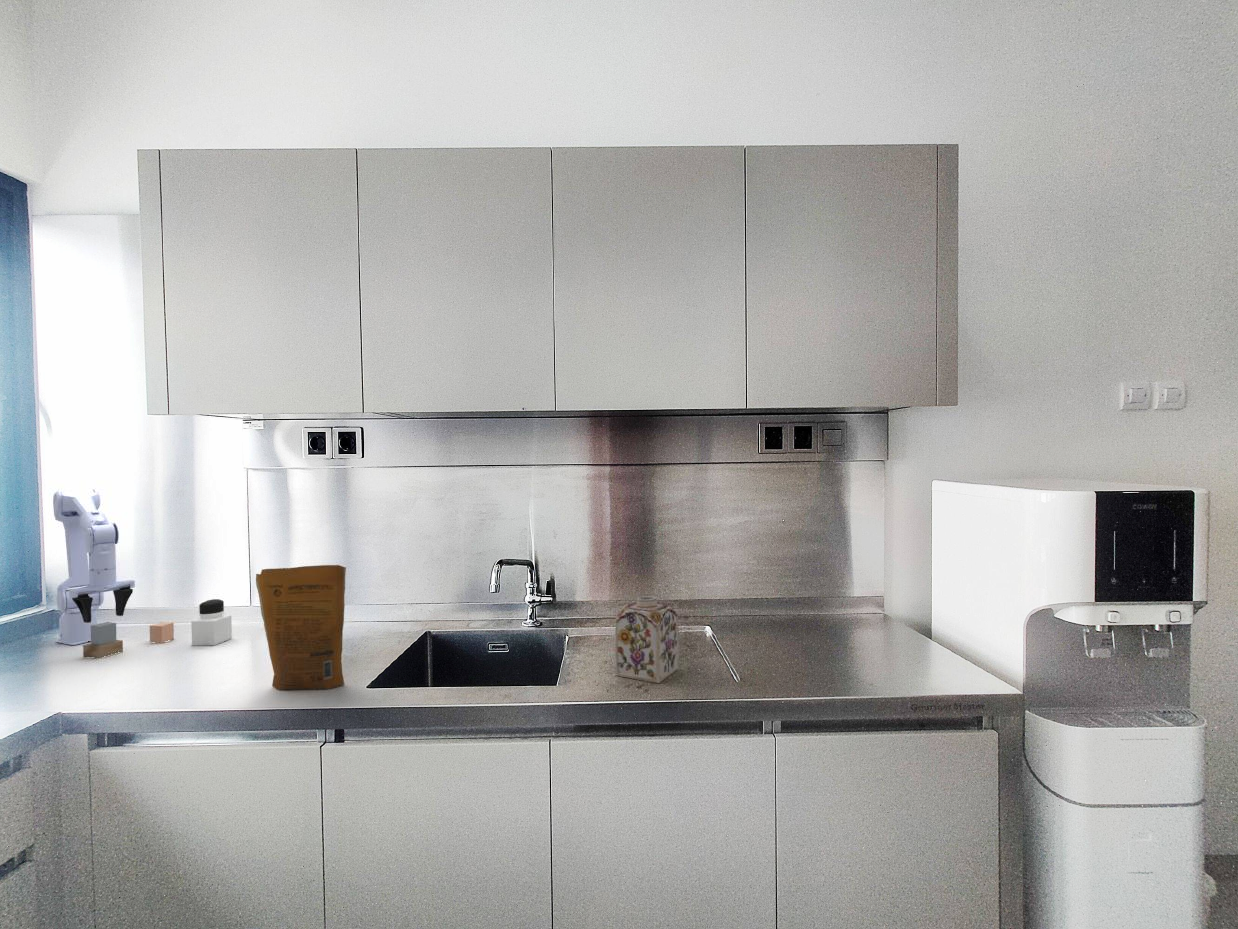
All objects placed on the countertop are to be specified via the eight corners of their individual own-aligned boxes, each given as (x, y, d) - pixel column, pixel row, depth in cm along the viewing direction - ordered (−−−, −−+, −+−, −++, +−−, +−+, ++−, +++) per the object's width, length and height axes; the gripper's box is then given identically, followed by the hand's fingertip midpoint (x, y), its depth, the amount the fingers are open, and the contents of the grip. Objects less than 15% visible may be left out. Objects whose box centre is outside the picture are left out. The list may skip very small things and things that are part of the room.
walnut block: (83, 658, 172) (83, 645, 172) (106, 651, 178) (106, 639, 178) (100, 659, 171) (99, 646, 171) (122, 653, 176) (122, 640, 176)
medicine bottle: (232, 638, 188) (231, 597, 188) (214, 645, 181) (213, 603, 181) (209, 638, 189) (208, 597, 189) (191, 645, 182) (190, 603, 182)
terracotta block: (149, 643, 185) (149, 625, 185) (162, 639, 189) (161, 622, 189) (161, 643, 184) (161, 626, 184) (173, 639, 188) (173, 622, 188)
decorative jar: (659, 684, 145) (657, 605, 144) (614, 676, 150) (612, 600, 150) (680, 669, 155) (679, 594, 155) (637, 662, 161) (636, 590, 160)
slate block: (91, 643, 173) (90, 625, 173) (107, 640, 177) (107, 622, 177) (99, 645, 172) (99, 626, 172) (116, 641, 175) (116, 623, 175)
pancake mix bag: (342, 692, 143) (339, 566, 143) (256, 694, 143) (253, 568, 142) (354, 681, 150) (351, 561, 149) (271, 683, 149) (269, 563, 149)
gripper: (79, 574, 166) (80, 626, 166) (140, 565, 179) (141, 614, 179) (64, 572, 169) (65, 624, 169) (125, 563, 182) (127, 611, 182)
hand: (103, 618), depth 174 cm, fingers open, 7 cm apart
